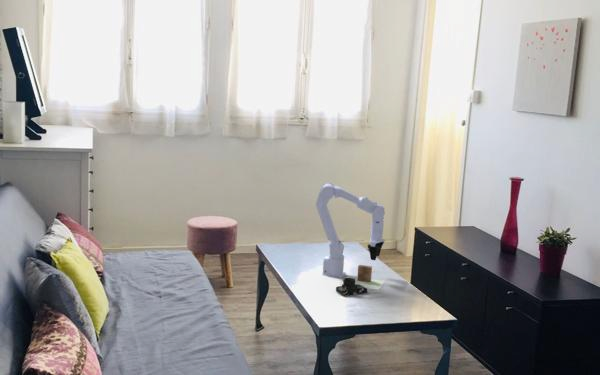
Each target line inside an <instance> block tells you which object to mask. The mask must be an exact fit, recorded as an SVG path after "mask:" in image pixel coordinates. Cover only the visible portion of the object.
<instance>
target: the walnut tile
mask: <svg viewBox="0 0 600 375" xmlns="http://www.w3.org/2000/svg"><path fill="white" fill-rule="evenodd" d="M372 270H373V266H371V265H364V264H359V265H358V266H357V277H358V279H357V281H364V282H371V279H372V274H373V272H372Z"/></svg>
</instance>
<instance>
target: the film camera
mask: <svg viewBox="0 0 600 375" xmlns="http://www.w3.org/2000/svg"><path fill="white" fill-rule="evenodd" d="M342 282H343V284H342V285H340V286H339V285H338V286H336V287H335V291H336V293H339V294H340V295H341V296H352V297H355V296H357V295H360V294H361V295H363V294H366V293H368V288H365V287H364V286H361V285H359V284H355V279H353V278H346V277H345V278H343V279H342Z"/></svg>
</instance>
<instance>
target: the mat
mask: <svg viewBox="0 0 600 375" xmlns="http://www.w3.org/2000/svg"><path fill="white" fill-rule="evenodd" d="M345 278H353V279H355V284H359V285H361V286H364V287H365V288H367V290H368V289H369V290H375V291H376V290H377V291H379V290H380V289H381V288H382V287H383V285H384V283H385V282H386V280H383V279H382V280H381V279H374V278H371V282H364V281H357V279H358V276H352V275H347V276H346V277H345ZM342 284H343V281H342V282H341V283H340V286H342Z"/></svg>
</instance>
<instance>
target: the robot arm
mask: <svg viewBox="0 0 600 375" xmlns="http://www.w3.org/2000/svg"><path fill="white" fill-rule="evenodd" d="M333 197H334V199H335V198H336V199H337V198H343V199H345V200H347V201H349V202H351V203H354V204H356V208H358V209H360V210H362V211H364V212H366V213H368V214H371V215H372V217H371V218H372V219H371V224H370V238H369V242H370V244H369V243H368V244H367V248H368V251H369V256H370V260H371V261H376V260H377V257H380V254H381V250H382V247H383V245H384V243H385V242H386V239H383V237H384V236H383V235H384V223H385V222H384V219H385V217H384V216H385V213H386V212H385V207H384V205H383V204H381V203H379V202H377V201H374V200H373V201H372V200H371V199H369V197H368V196H357V195H355V194H353V193H351V192H350V191H348V190H346V189H345V188H343V187H340V186H338V185H336V184H333V183H330V182H329V183H328V182H327V183H325V184H323V186H322V187H321V189H320V190H319V193H318V195H317V200H316V203H315V206H316V209H317V212H318V213H317V214H318V215H319V218H320V220H321V224H322V226H323V229H324V232H325V236H326V238H327V241H328V247H329V254H328V255H325V256H324V258H323V262H322V265H323V266H322V276H328V277H333V278H341V279H342V278H343V276H345V275H346V272H344V265H345V261H344V260H345V255H343V254H344V249H345V246H344V244H343V242H342V241H341V240H340V238H339V236H338V234H337V231H336V229H335V225H334V223H333V220H332V217H331V214H330V210H329V208H328V204H329V201H330V200H331V199H333Z"/></svg>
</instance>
